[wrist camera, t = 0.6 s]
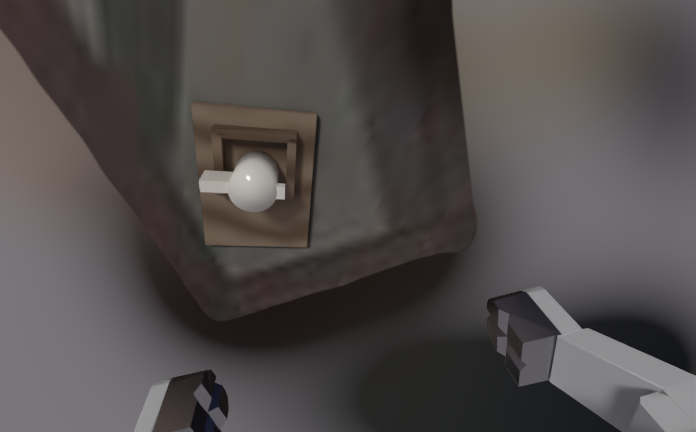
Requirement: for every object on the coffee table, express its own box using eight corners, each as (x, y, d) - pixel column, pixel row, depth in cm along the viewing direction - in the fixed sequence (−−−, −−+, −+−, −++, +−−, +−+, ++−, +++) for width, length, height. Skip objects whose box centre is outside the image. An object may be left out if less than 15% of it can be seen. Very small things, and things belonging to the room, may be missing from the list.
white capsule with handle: (286, 151, 48) (285, 171, 42) (285, 189, 51) (284, 213, 45) (208, 146, 47) (195, 166, 41) (211, 186, 50) (200, 210, 44)
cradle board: (192, 101, 44) (186, 107, 42) (316, 112, 47) (317, 118, 45) (206, 241, 55) (202, 252, 53) (306, 243, 58) (307, 254, 56)
